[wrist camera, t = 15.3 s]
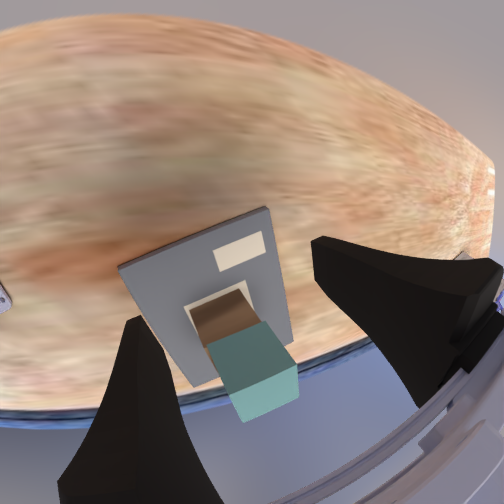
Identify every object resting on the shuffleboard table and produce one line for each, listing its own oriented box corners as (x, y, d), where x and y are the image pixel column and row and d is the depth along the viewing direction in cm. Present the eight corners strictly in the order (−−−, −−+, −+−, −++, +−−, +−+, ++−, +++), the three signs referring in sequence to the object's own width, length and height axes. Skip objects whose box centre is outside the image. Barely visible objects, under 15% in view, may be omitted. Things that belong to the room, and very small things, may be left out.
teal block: (206, 344, 19) (228, 395, 15) (265, 320, 20) (296, 364, 16) (221, 378, 21) (242, 422, 17) (272, 356, 22) (299, 397, 18)
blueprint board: (117, 266, 19) (117, 271, 18) (265, 206, 22) (269, 209, 21) (192, 383, 28) (193, 388, 27) (291, 337, 30) (293, 341, 30)
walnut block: (188, 310, 22) (203, 348, 19) (238, 288, 23) (261, 322, 20) (206, 343, 25) (222, 380, 21) (250, 323, 26) (271, 357, 22)
